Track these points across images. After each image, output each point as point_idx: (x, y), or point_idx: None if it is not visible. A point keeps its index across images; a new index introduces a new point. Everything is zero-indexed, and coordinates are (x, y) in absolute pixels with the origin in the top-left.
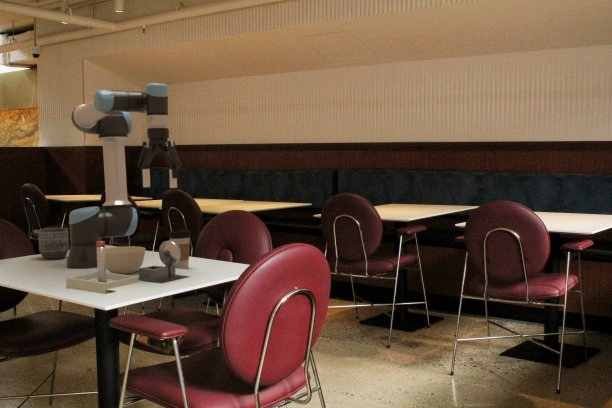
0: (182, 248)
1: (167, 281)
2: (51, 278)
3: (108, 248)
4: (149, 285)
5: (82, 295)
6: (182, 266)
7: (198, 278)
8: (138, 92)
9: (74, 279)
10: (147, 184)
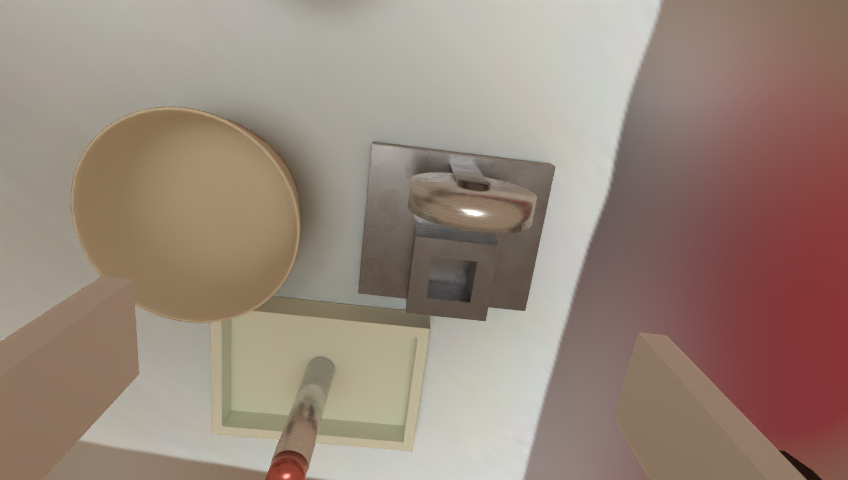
0: None
1: (523, 276)
2: (21, 326)
3: (76, 213)
4: None
5: (365, 464)
6: None
7: (549, 106)
8: None
9: (257, 437)
10: (115, 345)
